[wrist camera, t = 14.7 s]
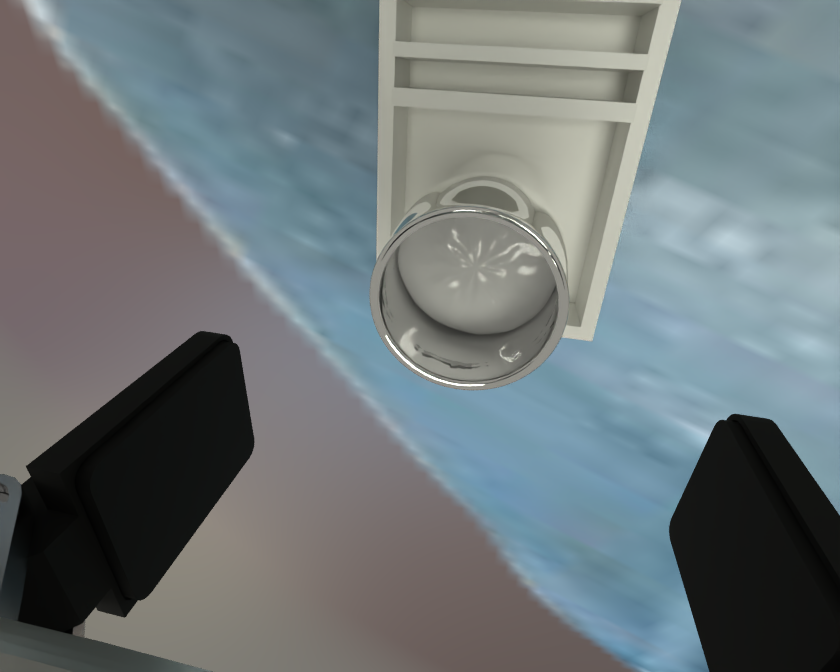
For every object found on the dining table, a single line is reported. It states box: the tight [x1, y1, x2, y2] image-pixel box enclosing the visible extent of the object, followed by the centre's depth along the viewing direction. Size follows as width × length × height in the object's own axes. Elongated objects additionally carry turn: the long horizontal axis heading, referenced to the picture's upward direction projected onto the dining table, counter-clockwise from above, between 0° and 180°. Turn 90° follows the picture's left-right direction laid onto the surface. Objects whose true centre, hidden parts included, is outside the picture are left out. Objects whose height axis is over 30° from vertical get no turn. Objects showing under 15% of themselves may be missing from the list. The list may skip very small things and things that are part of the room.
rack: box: [376, 0, 681, 341], centre depth 22 cm, size 22×13×12 cm, turn 177°
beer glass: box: [370, 153, 569, 390], centre depth 22 cm, size 7×7×15 cm
